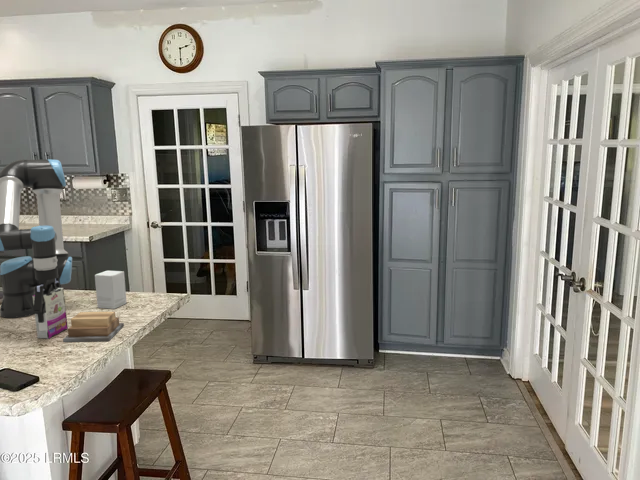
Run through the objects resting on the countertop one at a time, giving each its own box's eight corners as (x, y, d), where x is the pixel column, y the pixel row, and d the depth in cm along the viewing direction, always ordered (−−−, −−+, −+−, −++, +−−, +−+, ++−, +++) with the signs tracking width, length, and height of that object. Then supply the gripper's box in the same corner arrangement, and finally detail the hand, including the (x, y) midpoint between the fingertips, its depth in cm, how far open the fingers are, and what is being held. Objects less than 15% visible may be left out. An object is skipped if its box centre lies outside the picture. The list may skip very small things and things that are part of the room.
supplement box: (127, 303, 223) (125, 271, 221) (114, 309, 215) (112, 275, 212) (109, 301, 225) (107, 269, 223) (96, 307, 217) (93, 274, 214)
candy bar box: (56, 328, 192) (52, 287, 189) (68, 328, 191) (64, 287, 188) (36, 338, 181) (31, 295, 178) (48, 339, 180) (43, 295, 177)
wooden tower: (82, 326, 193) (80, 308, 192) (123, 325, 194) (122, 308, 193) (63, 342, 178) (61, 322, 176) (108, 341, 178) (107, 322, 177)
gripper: (40, 276, 170) (46, 336, 174) (71, 260, 194) (75, 314, 197) (17, 276, 170) (24, 336, 173) (51, 261, 193) (56, 314, 197)
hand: (51, 324), depth 185 cm, fingers closed on candy bar box, 12 cm apart
